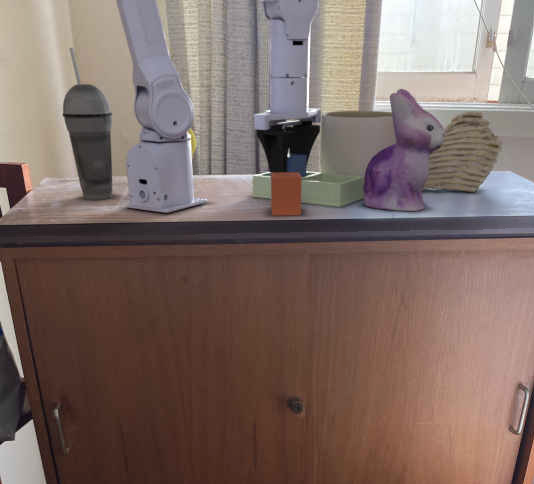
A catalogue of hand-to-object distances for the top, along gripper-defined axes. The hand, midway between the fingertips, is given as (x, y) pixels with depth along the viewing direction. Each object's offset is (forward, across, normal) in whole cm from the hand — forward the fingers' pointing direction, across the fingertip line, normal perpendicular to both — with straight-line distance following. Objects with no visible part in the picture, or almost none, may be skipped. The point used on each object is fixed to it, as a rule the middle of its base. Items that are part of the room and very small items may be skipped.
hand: (288, 177), depth 107 cm
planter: (+3, -12, +5) cm, 13 cm away
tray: (+3, 0, +4) cm, 5 cm away
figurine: (+3, -3, +18) cm, 18 cm away
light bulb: (+3, +4, -20) cm, 20 cm away
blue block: (+2, 0, 0) cm, 2 cm away
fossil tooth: (+3, -20, +19) cm, 27 cm away
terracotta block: (+3, +11, +8) cm, 13 cm away
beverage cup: (+3, +19, -24) cm, 30 cm away
